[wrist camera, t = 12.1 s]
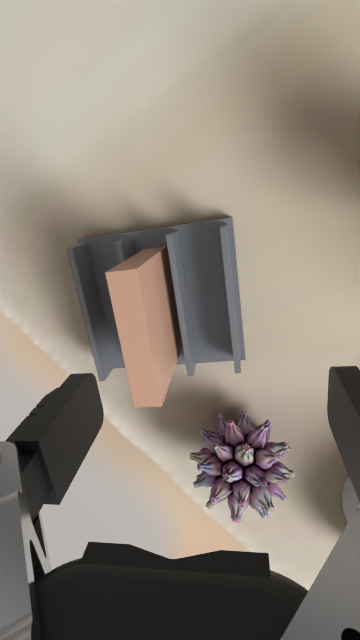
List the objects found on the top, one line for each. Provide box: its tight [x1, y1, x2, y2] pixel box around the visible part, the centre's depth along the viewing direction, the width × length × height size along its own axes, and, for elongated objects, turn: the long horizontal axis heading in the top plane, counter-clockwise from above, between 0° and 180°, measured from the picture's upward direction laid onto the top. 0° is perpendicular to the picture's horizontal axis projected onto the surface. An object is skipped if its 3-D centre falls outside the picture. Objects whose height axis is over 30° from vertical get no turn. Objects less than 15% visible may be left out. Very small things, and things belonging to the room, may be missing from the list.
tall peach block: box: [105, 246, 182, 408], centre depth 33 cm, size 12×2×12 cm, turn 8°
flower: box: [190, 411, 295, 523], centre depth 39 cm, size 12×12×12 cm
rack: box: [67, 217, 245, 381], centre depth 38 cm, size 16×17×6 cm
